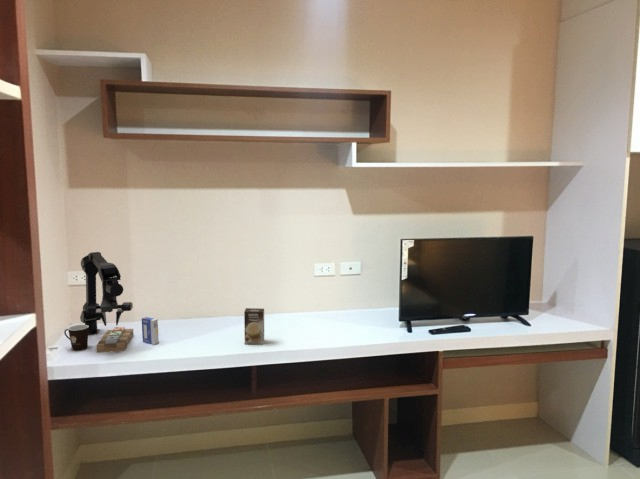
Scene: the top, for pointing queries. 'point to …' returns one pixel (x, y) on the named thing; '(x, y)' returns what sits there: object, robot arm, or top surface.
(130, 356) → the top surface
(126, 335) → the button board
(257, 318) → the coffee box
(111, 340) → the one-pip button
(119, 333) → the three-pip button
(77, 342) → the coffee mug
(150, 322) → the walkman
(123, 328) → the two-pip button
